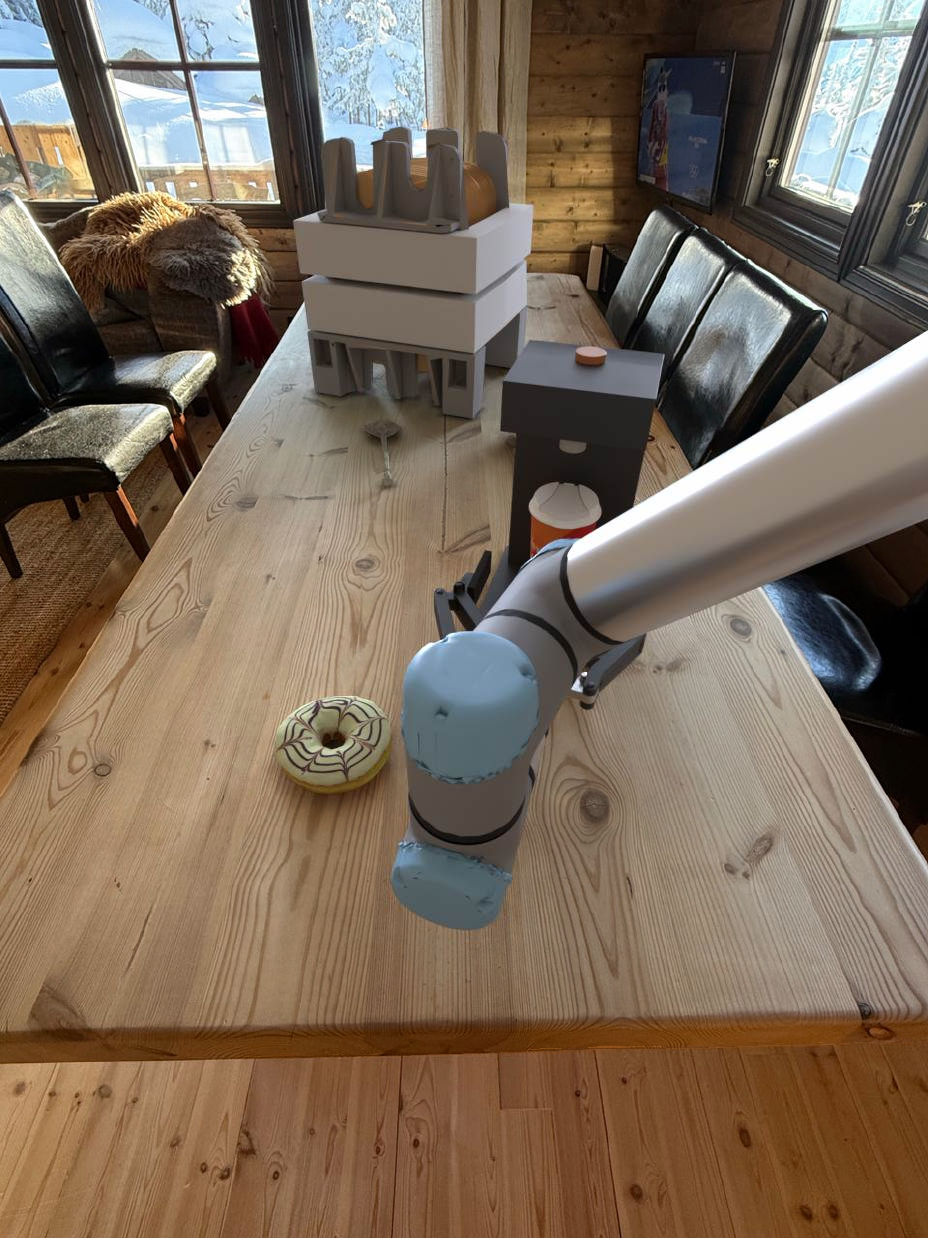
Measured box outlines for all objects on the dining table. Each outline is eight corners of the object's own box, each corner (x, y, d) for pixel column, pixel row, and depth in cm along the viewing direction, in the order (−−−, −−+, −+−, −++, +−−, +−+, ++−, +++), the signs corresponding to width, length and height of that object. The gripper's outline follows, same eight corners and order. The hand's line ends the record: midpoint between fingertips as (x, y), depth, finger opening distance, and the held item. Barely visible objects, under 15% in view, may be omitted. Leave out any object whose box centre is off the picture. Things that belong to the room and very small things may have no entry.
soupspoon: (400, 428, 119) (364, 431, 118) (398, 410, 116) (361, 413, 116) (408, 485, 102) (365, 489, 101) (406, 464, 99) (362, 469, 99)
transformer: (526, 361, 143) (543, 128, 116) (474, 420, 120) (480, 147, 93) (385, 340, 152) (371, 120, 125) (311, 392, 129) (274, 135, 102)
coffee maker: (610, 670, 72) (665, 419, 53) (469, 641, 75) (474, 395, 56) (626, 575, 85) (676, 346, 66) (506, 554, 88) (520, 330, 69)
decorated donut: (318, 700, 68) (313, 675, 66) (411, 732, 65) (409, 707, 63) (257, 777, 61) (249, 752, 58) (358, 818, 58) (354, 792, 55)
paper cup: (525, 576, 82) (534, 475, 72) (587, 585, 81) (605, 483, 71) (516, 617, 76) (524, 512, 67) (583, 626, 75) (601, 521, 66)
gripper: (360, 721, 57) (437, 579, 73) (650, 793, 52) (667, 624, 68) (351, 659, 53) (436, 521, 68) (671, 732, 47) (684, 565, 63)
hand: (551, 572), depth 68 cm, fingers open, 13 cm apart
